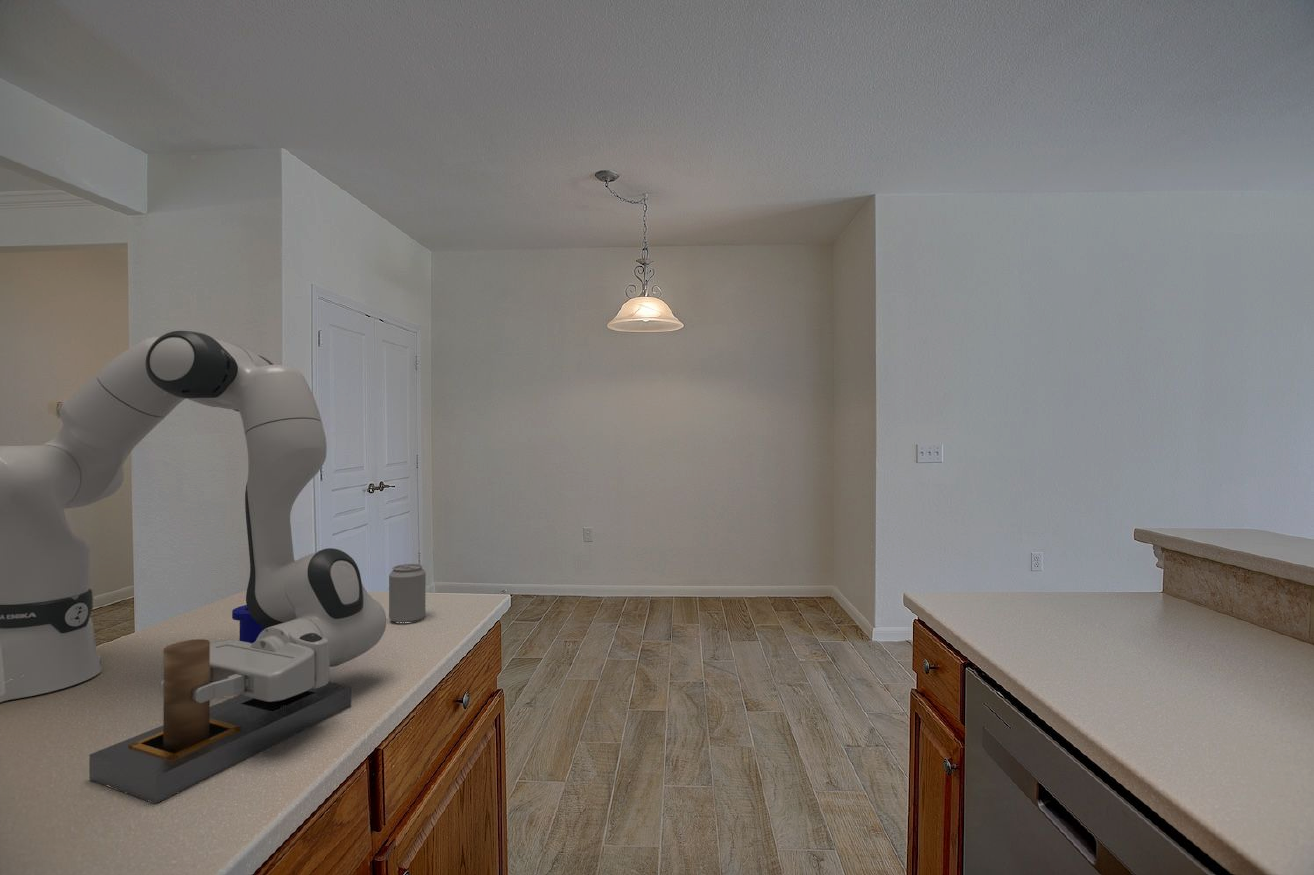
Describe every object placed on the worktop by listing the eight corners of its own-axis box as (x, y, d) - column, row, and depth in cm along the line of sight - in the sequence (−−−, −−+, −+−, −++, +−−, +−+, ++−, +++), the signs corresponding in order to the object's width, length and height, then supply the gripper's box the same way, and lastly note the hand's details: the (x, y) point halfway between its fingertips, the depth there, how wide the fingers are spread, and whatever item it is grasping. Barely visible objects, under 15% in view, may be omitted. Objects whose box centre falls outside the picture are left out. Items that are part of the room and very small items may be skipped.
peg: (153, 759, 72) (153, 651, 72) (183, 740, 76) (184, 639, 76) (190, 759, 71) (190, 652, 71) (218, 740, 76) (218, 639, 76)
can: (405, 626, 126) (406, 570, 126) (381, 622, 130) (381, 567, 130) (432, 617, 133) (433, 564, 133) (408, 613, 136) (409, 561, 136)
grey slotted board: (89, 779, 70) (89, 752, 70) (292, 693, 93) (292, 672, 93) (155, 803, 65) (155, 774, 65) (350, 706, 89) (351, 685, 89)
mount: (272, 639, 119) (272, 596, 119) (305, 642, 117) (305, 598, 117) (201, 668, 104) (202, 618, 104) (238, 671, 102) (238, 621, 103)
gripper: (236, 623, 90) (127, 655, 77) (336, 641, 82) (234, 679, 69) (236, 665, 90) (127, 703, 77) (336, 686, 82) (234, 732, 69)
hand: (179, 692), depth 73 cm, fingers closed on peg, 4 cm apart
